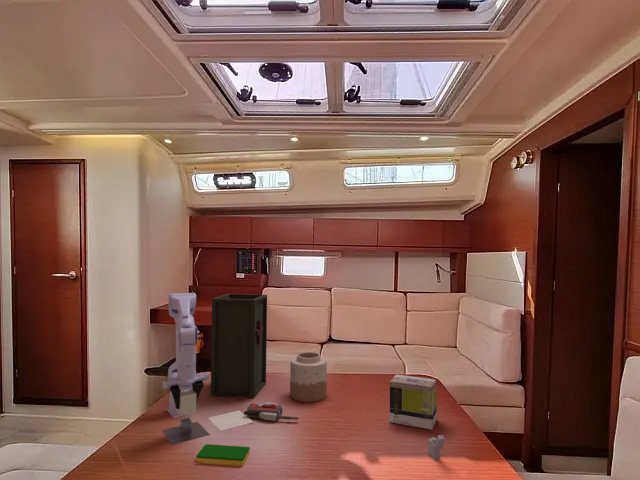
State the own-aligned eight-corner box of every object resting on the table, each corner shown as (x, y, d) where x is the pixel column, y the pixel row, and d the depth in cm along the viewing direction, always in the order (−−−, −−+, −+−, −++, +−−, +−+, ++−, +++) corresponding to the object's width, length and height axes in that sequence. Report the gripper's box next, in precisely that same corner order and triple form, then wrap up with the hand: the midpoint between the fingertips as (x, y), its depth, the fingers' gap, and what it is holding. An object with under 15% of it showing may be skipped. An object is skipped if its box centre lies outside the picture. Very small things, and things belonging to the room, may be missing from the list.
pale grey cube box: (176, 410, 134) (176, 391, 134) (191, 406, 137) (191, 388, 137) (180, 415, 130) (180, 396, 130) (196, 411, 133) (196, 393, 133)
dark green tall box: (226, 381, 186) (228, 293, 187) (266, 383, 183) (267, 294, 184) (210, 395, 168) (212, 298, 168) (253, 398, 165) (255, 299, 166)
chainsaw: (241, 419, 144) (297, 423, 142) (242, 406, 144) (298, 411, 142) (247, 410, 152) (300, 414, 151) (248, 398, 153) (301, 402, 151)
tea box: (437, 419, 147) (437, 378, 147) (432, 431, 138) (432, 387, 138) (395, 412, 153) (396, 372, 153) (388, 422, 144) (389, 380, 144)
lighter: (428, 453, 123) (428, 426, 123) (433, 452, 123) (433, 425, 123) (439, 465, 116) (439, 437, 116) (445, 464, 116) (445, 436, 116)
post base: (161, 431, 135) (162, 418, 135) (197, 423, 142) (197, 410, 142) (172, 446, 125) (172, 431, 125) (209, 436, 132) (210, 422, 132)
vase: (333, 393, 172) (333, 353, 172) (313, 405, 159) (313, 362, 160) (303, 386, 180) (304, 348, 181) (282, 397, 167) (283, 356, 168)
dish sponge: (242, 467, 114) (243, 459, 114) (195, 464, 116) (195, 455, 116) (250, 454, 121) (250, 446, 121) (205, 451, 123) (205, 443, 123)
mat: (207, 419, 145) (207, 417, 145) (239, 411, 152) (239, 410, 152) (220, 432, 135) (220, 430, 135) (253, 423, 142) (253, 421, 142)
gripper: (167, 371, 126) (166, 415, 126) (212, 364, 135) (211, 405, 135) (161, 365, 132) (160, 407, 132) (205, 359, 140) (204, 398, 140)
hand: (186, 406), depth 134 cm, fingers closed on pale grey cube box, 5 cm apart
